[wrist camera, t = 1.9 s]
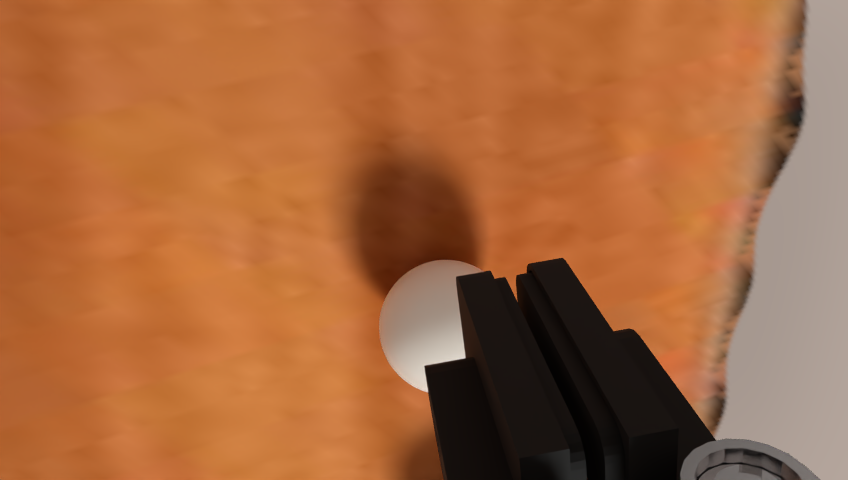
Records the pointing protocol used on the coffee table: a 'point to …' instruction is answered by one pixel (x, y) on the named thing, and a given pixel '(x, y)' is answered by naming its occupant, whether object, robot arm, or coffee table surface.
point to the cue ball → (423, 319)
